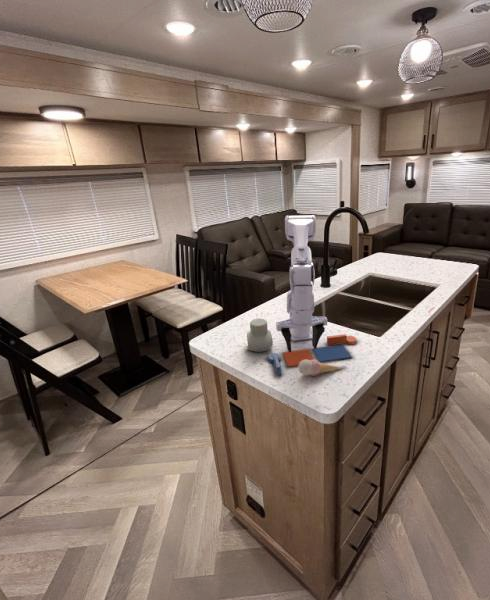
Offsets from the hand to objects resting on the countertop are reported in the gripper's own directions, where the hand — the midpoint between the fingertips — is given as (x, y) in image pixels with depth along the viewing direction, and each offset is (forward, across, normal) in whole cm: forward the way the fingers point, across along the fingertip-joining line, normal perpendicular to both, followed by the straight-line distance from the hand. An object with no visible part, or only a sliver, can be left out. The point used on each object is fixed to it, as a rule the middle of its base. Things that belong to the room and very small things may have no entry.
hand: (301, 348), depth 94 cm
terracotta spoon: (+9, +19, +15) cm, 26 cm away
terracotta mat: (+9, +1, +9) cm, 13 cm away
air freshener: (+10, -10, +19) cm, 23 cm away
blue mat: (+9, +13, +9) cm, 18 cm away
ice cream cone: (+10, +6, 0) cm, 11 cm away
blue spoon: (+9, -7, +7) cm, 13 cm away
